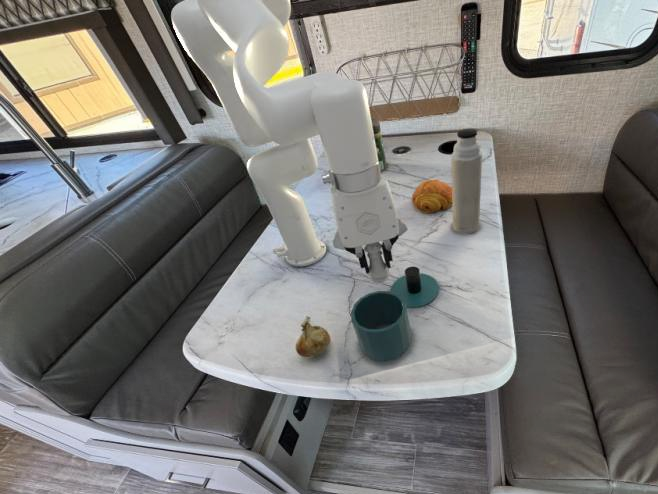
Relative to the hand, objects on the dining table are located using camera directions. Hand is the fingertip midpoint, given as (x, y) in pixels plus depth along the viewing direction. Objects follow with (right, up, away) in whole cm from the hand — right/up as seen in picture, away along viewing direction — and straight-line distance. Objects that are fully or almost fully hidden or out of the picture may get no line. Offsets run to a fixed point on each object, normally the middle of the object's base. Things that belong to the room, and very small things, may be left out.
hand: (377, 265), depth 64 cm
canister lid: (+8, -4, +21) cm, 23 cm away
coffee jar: (-5, +49, +78) cm, 92 cm away
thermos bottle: (+25, +16, +39) cm, 49 cm away
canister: (+1, -16, +11) cm, 20 cm away
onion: (-15, -18, +12) cm, 26 cm away
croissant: (+16, +27, +52) cm, 60 cm away
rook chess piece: (0, -2, +2) cm, 3 cm away
